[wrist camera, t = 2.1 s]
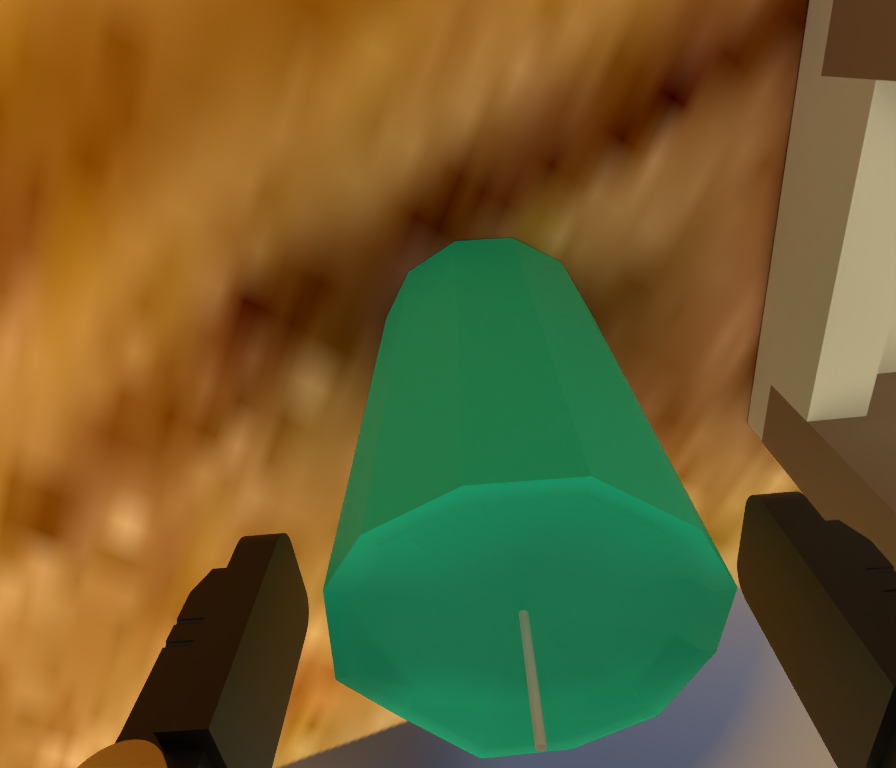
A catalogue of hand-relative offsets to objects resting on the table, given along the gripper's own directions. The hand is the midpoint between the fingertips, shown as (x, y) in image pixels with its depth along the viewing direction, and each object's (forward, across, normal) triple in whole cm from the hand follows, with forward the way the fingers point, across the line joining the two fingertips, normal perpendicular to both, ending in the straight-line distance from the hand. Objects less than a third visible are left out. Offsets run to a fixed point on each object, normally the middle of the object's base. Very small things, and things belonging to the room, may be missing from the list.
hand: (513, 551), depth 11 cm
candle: (+8, 0, 0) cm, 9 cm away
